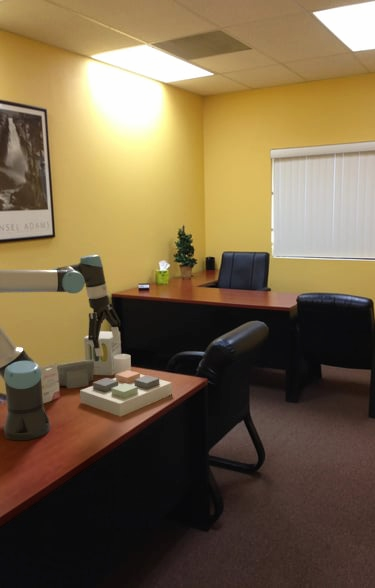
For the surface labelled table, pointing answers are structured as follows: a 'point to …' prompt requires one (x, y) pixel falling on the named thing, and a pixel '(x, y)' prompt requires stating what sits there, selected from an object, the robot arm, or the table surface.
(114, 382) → the charcoal key
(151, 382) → the charcoal key
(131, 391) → the key green
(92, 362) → the digital clock
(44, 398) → the ink cartridge box
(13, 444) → the table surface
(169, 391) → the keypad
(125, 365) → the white cup
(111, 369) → the supplement box
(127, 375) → the key terracotta
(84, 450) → the table surface
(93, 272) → the robot arm
